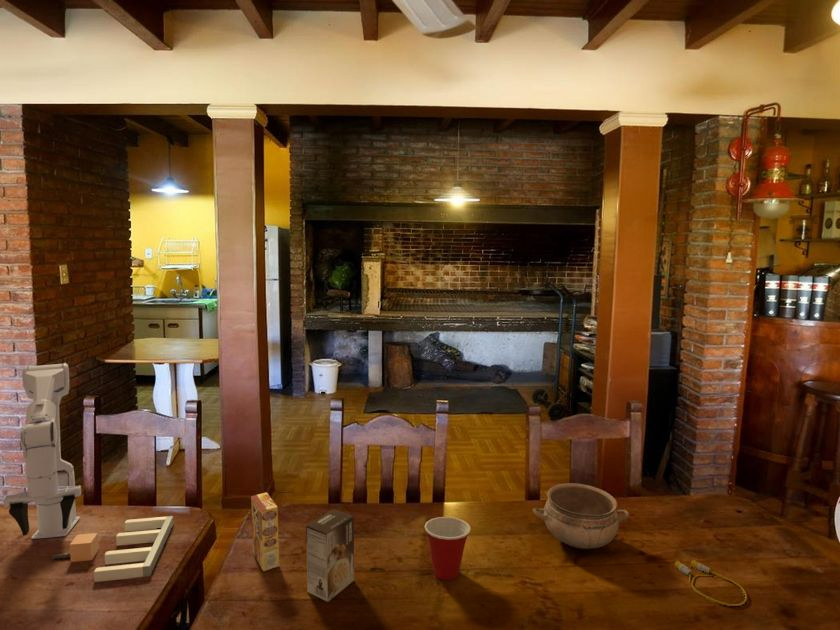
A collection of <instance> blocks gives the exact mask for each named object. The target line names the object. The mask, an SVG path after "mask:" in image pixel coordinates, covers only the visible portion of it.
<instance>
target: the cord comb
mask: <svg viewBox="0 0 840 630" xmlns="http://www.w3.org/2000/svg"><path fill="white" fill-rule="evenodd" d="M173 526H174V516H173V515H169V516H159V517H157V516H156V517H155V516H154V517H144V518H134V519H126V520H125V522H124V532H117V534H116V536H115V538H116V540H115V541H116V546H117V547H118V546H128V545H136V544H146V543H153V545H152V546H148V547H147V546H146V547H138V548H136V547H135V548H129V549H127V548H126V549H117V550H109V551H108V550H107V551H106V552H105V554H104V564H105V565H107V566H99V567H96V568H95V570H94V571H93V577H94V583H100V582H106V581H108V582H109V581H116V580H125V579H134V578H135V579H136V578H144V577H150V576H151V575H152V573H153V571H154V569H155V566H156V564H157V561H158V560H159V557H160V556H161V553H162V550H163V548H164V546H165V544H166V541H167V540H168V537H169V535H170V534H171V531H172V529H173ZM157 528H161V529H157ZM171 528H172V529H171ZM143 561H144V562H143ZM134 562H136V563H134ZM137 562H140V563H137ZM123 563H127V564H123ZM128 563H129V564H128ZM130 563H131V564H130ZM117 564H119V565H117ZM120 564H121V565H120ZM108 565H111V566H108Z"/></svg>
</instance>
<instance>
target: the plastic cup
mask: <svg viewBox="0 0 840 630" xmlns="http://www.w3.org/2000/svg"><path fill="white" fill-rule="evenodd" d="M423 527H424V529H425V532H426V535H427V539H428V544H429V550H430V560H431V562H432V563H431V564H432V569H433V574H434V576H435V577H436V578H437V579H439V580H442V581H452V580H455V579H456V578H457V577H458V576H459V573H460V567H461V565H462V559H463V556H464V550H465V546H466V541H467V538H468V536H469V534H470V533H471V526H470V525H469V523H468V522H466V521H465V520H463V519H460V518H456V517H452V516H451V517H450V516H441V517H435V518H431V519H429V520H428V521H426V522H425V525H424V526H423Z"/></svg>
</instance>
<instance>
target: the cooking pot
mask: <svg viewBox="0 0 840 630" xmlns="http://www.w3.org/2000/svg"><path fill="white" fill-rule="evenodd" d="M617 508H618V502H617V499H616V498H614V496H613V495H611V494H610V493H608V492H607V491H605V490H603V489H601V488H598V487H595V486H592V485H587V484H584V483H583V484H582V483H573V482H572V483H561V484H560V483H559V484H557V485H553V486H551V488H549V489H548V491H547V500H546V502H545V504H544V508H538V507H534V508H533V509H532V513H534V515H535V516H536V517H538V518H540V519H542V520H543V521H544V523H545V525H546V528H547V529H548V531H549V532H550V533H551V534H552V536H554V537H555V538H556V539H557V540H558V541H560V542H562V543H563V544H566V545H568V546H570V547H571V548H573V549H578V550H588V549H589V550H591V549H598V548H601V547H604V546H606V545H608V544H610V542H612V541H613V540H614V539H615V537H616V536H617V534H618V531H619V527H620V522H622V521H624V520H626V519H627V518H628V517H629V516H630V513H629V512H628V511H627V510H626V509H617ZM616 509H617V510H616ZM619 514H620V515H621V514H624V515H621V516H619Z"/></svg>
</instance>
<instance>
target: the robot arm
mask: <svg viewBox="0 0 840 630" xmlns="http://www.w3.org/2000/svg"><path fill="white" fill-rule="evenodd" d="M21 372H22V373H21V374H22V375H21V379H22V381H21V382H22V387H23V389H24V392H25V395H26V396H27V398H28V399H31V400H33V401H32V402H30V403H29V405H28V406H27V408H26V416H25V423H24V427H23V426H21V427H20V432H19V439H20V440H19V442H20V446H21V449H22V455H23V456H22V457H23V459H25V472H26V473H25V475H26V477H25V478H26V486H27V487H26V488H27V491H22V492H19V493H15V494H9V495H5V497H4V498H3V508H8V507H9V509H8V514H9V515H10V516H11V517H12V518H13V519H14V521H16V523H17V524H18V526H19V528H20V530H21V533H22V536H27V535H28V534H29V532H30V523H29V516H28V515H29V514H28V513H29V512H28V511H29V507H28V506H29V504H30V503H34V505H36V518H37V530H36V531H35V533H33V535H32V536H31V537H30V538H31V539H32V540H35V539H36V540H37V539H47V538H48V539H49V538H57V537H59V538H60V537H66V536H68V534H69V533H70V532H71V530H72V529H73V528H74V527H75V525H76V524H77V523H78V521H79V520H80V519H81V516H79V515H78V516H77V511H76V509H77V508H76V498H77V497H78V498H79V497H80V496H81V495H82V485H76V479H75V478H76V477H75V470H74V465H73V464H72V463H70V462H68V461H67V460H64V459H62V456H61V455H62V454H61V453H62V452H61V449H62V448H61V426H60V425H61V421H60V404H61V401H62V398H63V397H65V396H66V395H69V391H70V368H69V364H68V363H67V362H63V363H57V364H56V363H55V364H54V363H53V364H44V365H31V366H30V365H25V366H24V367H23V368H22V371H21ZM60 471H61V472H60Z"/></svg>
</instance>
